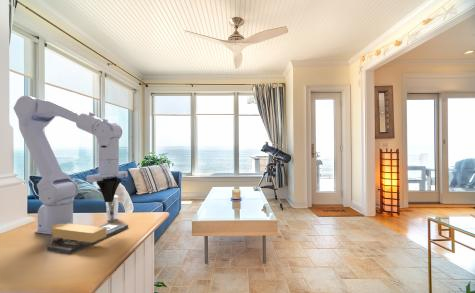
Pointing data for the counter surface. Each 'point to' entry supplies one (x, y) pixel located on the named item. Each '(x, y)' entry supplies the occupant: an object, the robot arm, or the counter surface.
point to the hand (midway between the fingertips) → (108, 201)
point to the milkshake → (112, 208)
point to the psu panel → (75, 245)
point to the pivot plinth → (57, 239)
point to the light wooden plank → (78, 232)
